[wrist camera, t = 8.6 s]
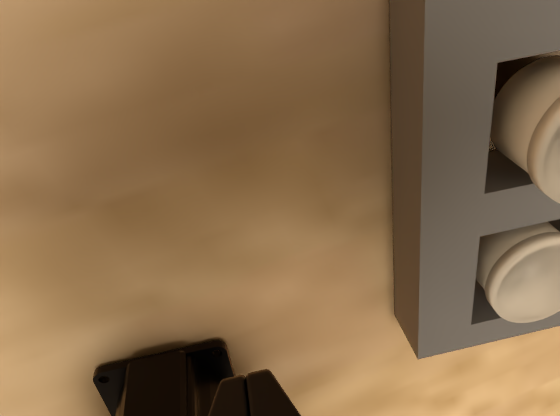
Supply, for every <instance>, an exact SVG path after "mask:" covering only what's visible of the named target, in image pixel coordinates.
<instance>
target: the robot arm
mask: <svg viewBox="0 0 560 416" xmlns="http://www.w3.org/2000/svg"><path fill="white" fill-rule="evenodd" d="M215 350H219V351H215ZM104 376H107V377H104ZM93 382H94V384H95V386H96V388H97V389H98V391H99V393H100V395H101V397H102V399H103V401H104V403H105V405H106V406H107V408H108V410H109V412H110V414H111V416H301V415H300V414H299V412H298V411H297V409H296V408H295V406H294V405H293V403H292V402H291V400H290V399H289V397H288V396H287V395H286V393H285V392H284V390H283V389H282V387H281V386H280V384H279V383H278V381H277V380H276V378H275V377H274V375H273V374H272V373H271V371H269V370H267V369H264V370H260V371H256V372H251V373H249V374H247V375H246V378H245V376H243V375H239V376H235V374H234V370H233V367H232V363H231V360H230V357H229V353H228V350H227V346H226V344H225V343H224V342H222V341H219V340H217V341H211V342H206V343H202V344H198V345H193V346H189V347H184V348H180V349H176V350H171V351H167V352H162V353H158V354H153V355H149V356H145V357H140V358H136V359H131V360H127V361H123V362H118V363H114V364H109V365H105V366H101V367H98V368H97V369H96V370H95V372H94V377H93Z"/></svg>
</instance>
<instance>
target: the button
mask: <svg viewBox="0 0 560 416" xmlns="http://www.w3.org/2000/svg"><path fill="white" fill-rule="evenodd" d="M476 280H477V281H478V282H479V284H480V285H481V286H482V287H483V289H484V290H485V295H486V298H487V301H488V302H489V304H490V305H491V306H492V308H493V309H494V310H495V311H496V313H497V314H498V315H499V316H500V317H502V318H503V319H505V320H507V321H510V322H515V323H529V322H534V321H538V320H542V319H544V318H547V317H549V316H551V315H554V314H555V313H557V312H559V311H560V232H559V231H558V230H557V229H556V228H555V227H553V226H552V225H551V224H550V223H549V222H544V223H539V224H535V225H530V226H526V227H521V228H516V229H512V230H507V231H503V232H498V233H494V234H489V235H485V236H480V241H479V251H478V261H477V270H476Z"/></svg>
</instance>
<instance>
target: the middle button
mask: <svg viewBox="0 0 560 416" xmlns="http://www.w3.org/2000/svg"><path fill="white" fill-rule="evenodd" d="M490 137H491V140H492V142H493V144H494V146H495V147H496V148H497V149H498V150H499V151H500V152H501V153H502V154H504V155H505V156H506V157H508V158H509V159H510V160H511V161H513V162H514V163H515V164H517V165H518V166H519V167H521V168H522V169H523V170H525V171H526V172H527V173H529V176H530V178H531V180H532V182H533V183H534V185H535V186H536V187H537V188H538V189H539V190H541V191H542V192H543V193H544V194H546V195H547V196H548V197H550V198H551V199H552V200H554V201H555V202H558V203H560V55H554V56H547V57H543V58H540V59H538V60H535V61H533V62H531V63H529V64H527V65H526V66H524V67H523V68H521V69H520V70H519V71H517V72H516V73H515V74H514V75H513V76H512V77H511V78H510V79H509V80H508V81H507V82H506V83H505V85H504V86H503V87H502V89H501V90H500V92H499V93H498V95H497V97H496V99H495V101H494V103H493V112H492V122H491V132H490Z"/></svg>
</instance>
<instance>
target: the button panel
mask: <svg viewBox="0 0 560 416" xmlns="http://www.w3.org/2000/svg"><path fill="white" fill-rule="evenodd" d="M389 18H390V77H391V135H392V194H393V252H394V311H395V316H396V318H397V320H398V322H399V324H400V326H401V328H402V330H403V332H404V334H405V336H406V337H407V339H408V341H409V343H410V345H411V347H412V349H413V351H414V353H415V355H416V357H417V358H418V359H421V358H426V357H430V356H434V355H438V354H442V353H447V352H451V351H455V350H459V349H464V348H468V347H472V346H476V345H481V344H485V343H489V342H493V341H497V340H502V339H506V338H510V337H514V336H519V335H523V334H527V333H531V332H536V331H540V330H544V329H548V328H552V327H557V326H560V311H559V312H557V313H555V314H554V315H551V316H549V317H547V318H544V319H542V320H538V321H534V322H529V323H515V322H510V321H507V320H505V319H503V318H502V317H500V316H499V315H498V314H497V313H496V311H495V310H494V309H493V308H492V306H491V305H490V304H489V302H488V301H487V298H486V295H485V290H484V289H483V287H482V286H481V285H480V284H479V282H478V281H477V280H476V270H477V261H478V251H479V241H480V236H485V235H489V234H494V233H498V232H503V231H507V230H512V229H516V228H521V227H526V226H530V225H535V224H539V223H544V222H549V223H550V224H551V225H552V226H553V227H555V228H556V229H557V230H558V231H559V232H560V203H558V202H555V201H554V200H552V199H551V198H550V197H548V196H547V195H546V194H544V193H543V192H542V191H541V190H539V189H538V188H537V187H536V186H535V185H534V183H533V182H532V180H531V178H530V176H529V173H527V172H526V171H525V170H523V169H522V168H521V167H519V166H518V165H517V164H515V163H514V162H513V161H511V160H510V159H509V158H508V157H506V156H505V155H504V154H502V153H501V152H500V151H499V150H494V151H489V142H490V132H491V122H492V112H493V102H494V93H495V83H496V73H497V63H499V62H504V61H509V60H514V59H519V58H524V57H529V56H535V55H540V54H545V53H550V52H555V51H560V0H389Z"/></svg>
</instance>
